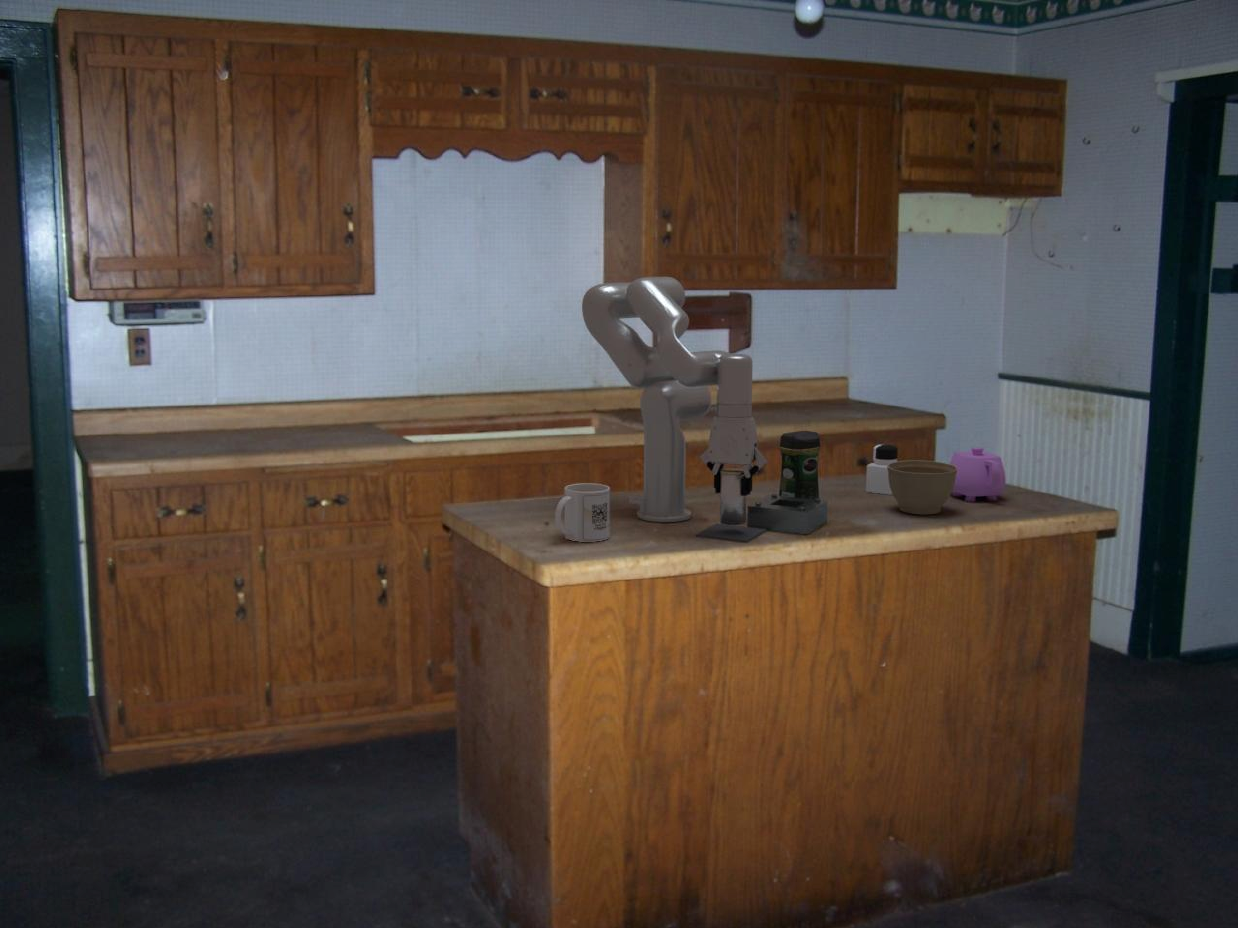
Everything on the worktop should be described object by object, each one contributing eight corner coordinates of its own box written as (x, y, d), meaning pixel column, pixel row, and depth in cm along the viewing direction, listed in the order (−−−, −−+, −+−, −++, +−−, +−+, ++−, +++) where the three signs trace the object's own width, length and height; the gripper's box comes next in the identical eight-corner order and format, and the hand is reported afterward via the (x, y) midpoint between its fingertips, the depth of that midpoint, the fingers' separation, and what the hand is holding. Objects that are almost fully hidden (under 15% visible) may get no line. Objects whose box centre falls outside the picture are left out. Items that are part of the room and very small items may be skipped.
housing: (747, 527, 288) (747, 503, 287) (769, 515, 300) (769, 492, 299) (807, 534, 281) (807, 509, 280) (826, 522, 294) (827, 498, 293)
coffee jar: (801, 502, 315) (803, 427, 312) (824, 508, 309) (827, 431, 306) (772, 506, 310) (774, 431, 306) (794, 512, 303) (797, 435, 300)
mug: (611, 543, 273) (611, 492, 271) (555, 544, 272) (555, 493, 270) (608, 532, 283) (608, 482, 281) (553, 532, 282) (553, 483, 280)
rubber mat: (695, 536, 279) (695, 534, 279) (716, 525, 290) (716, 523, 290) (747, 542, 274) (747, 540, 274) (766, 531, 285) (766, 529, 285)
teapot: (1017, 504, 315) (1021, 453, 312) (972, 506, 312) (975, 455, 309) (975, 488, 334) (978, 440, 331) (932, 490, 331) (934, 441, 328)
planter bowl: (872, 506, 310) (874, 462, 308) (928, 502, 316) (930, 458, 314) (911, 520, 296) (913, 474, 294) (968, 515, 302) (971, 470, 300)
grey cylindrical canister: (716, 523, 280) (716, 471, 278) (725, 518, 285) (725, 467, 283) (740, 525, 278) (740, 473, 276) (749, 520, 282) (749, 468, 281)
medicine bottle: (902, 490, 330) (904, 444, 328) (892, 495, 324) (894, 448, 322) (875, 487, 334) (877, 442, 332) (865, 492, 328) (867, 445, 326)
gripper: (690, 411, 278) (689, 493, 281) (765, 416, 270) (763, 500, 273) (704, 407, 284) (703, 487, 287) (777, 411, 277) (776, 494, 280)
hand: (732, 492), depth 280 cm, fingers closed on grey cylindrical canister, 5 cm apart
